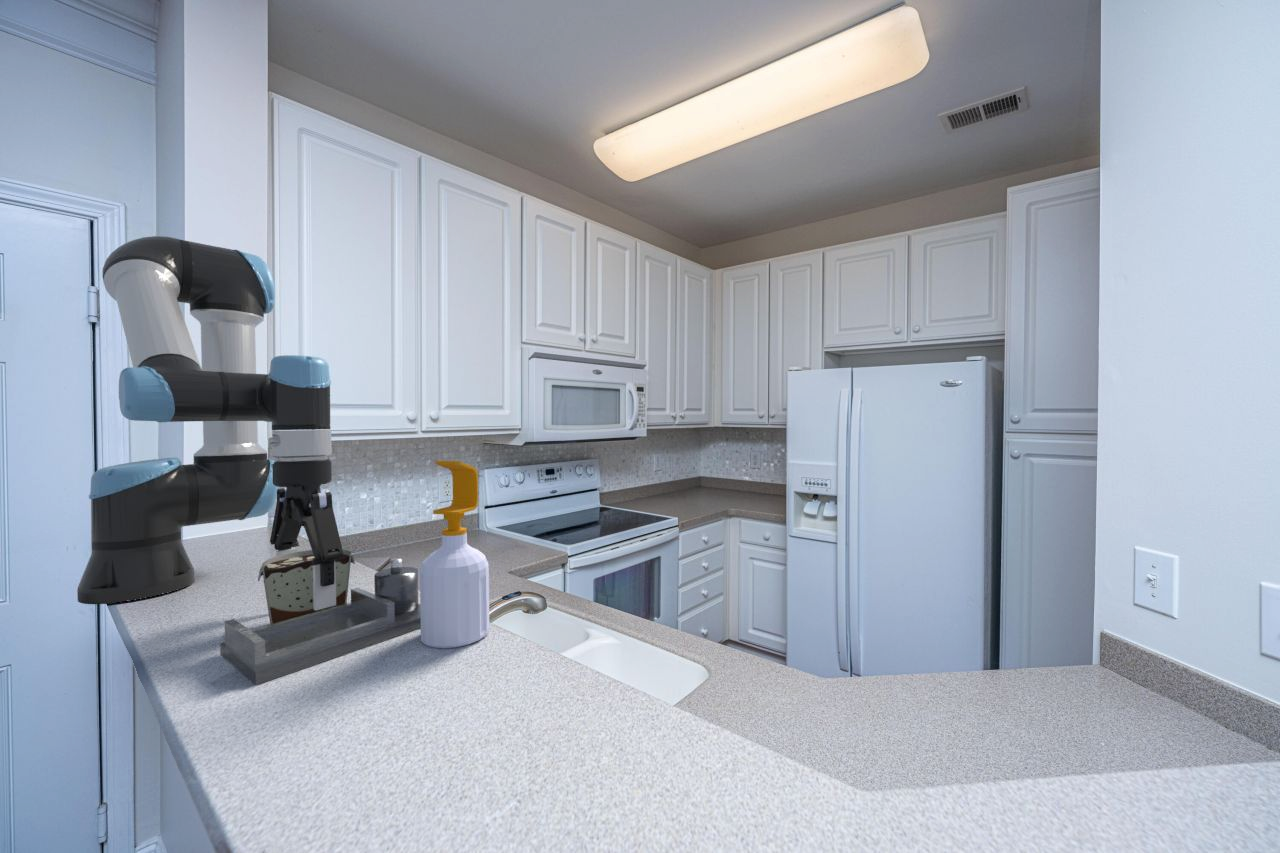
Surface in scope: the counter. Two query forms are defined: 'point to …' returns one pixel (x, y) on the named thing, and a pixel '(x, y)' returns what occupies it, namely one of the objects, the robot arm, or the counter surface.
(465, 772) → the counter surface
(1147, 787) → the counter surface
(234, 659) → the tray
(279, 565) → the food container
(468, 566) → the soap bottle
